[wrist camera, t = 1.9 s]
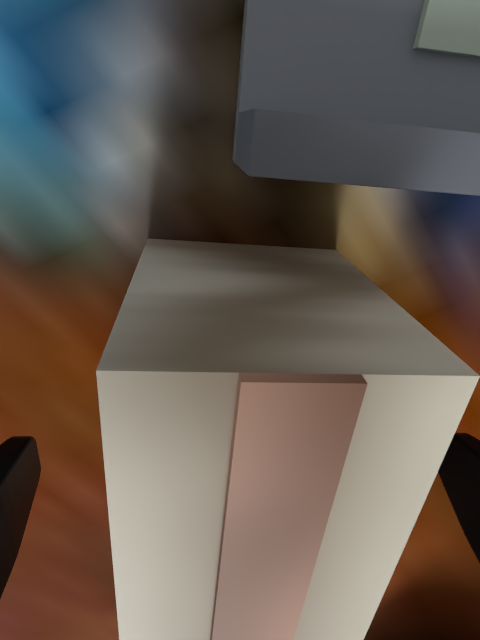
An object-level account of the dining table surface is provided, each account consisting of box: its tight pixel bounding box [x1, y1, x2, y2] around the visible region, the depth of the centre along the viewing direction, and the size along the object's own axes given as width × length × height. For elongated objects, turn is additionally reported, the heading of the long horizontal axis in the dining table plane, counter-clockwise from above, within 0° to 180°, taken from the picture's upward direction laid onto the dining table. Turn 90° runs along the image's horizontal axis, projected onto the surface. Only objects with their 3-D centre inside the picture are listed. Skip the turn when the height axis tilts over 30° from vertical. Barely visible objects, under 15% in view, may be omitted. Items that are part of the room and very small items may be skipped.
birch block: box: [96, 238, 480, 640], centre depth 9 cm, size 5×7×6 cm
